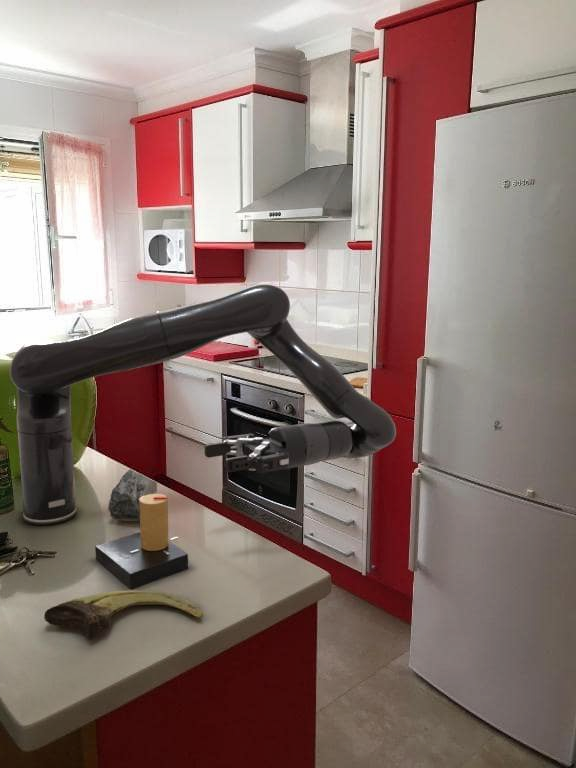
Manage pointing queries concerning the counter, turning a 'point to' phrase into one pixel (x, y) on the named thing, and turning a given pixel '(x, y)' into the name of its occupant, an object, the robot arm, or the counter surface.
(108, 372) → the robot arm
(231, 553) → the counter surface
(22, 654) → the counter surface
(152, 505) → the tan cylinder
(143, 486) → the stone
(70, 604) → the claw
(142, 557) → the panel
